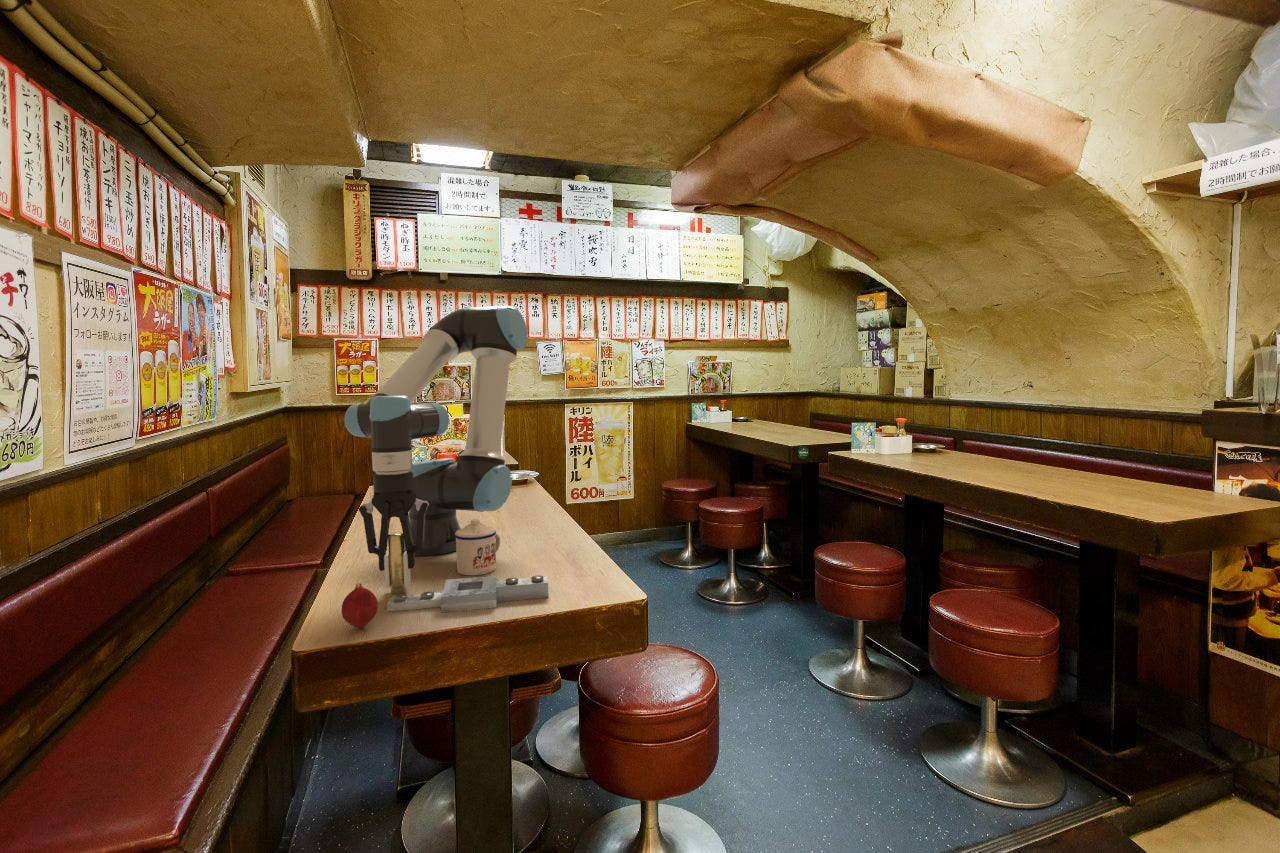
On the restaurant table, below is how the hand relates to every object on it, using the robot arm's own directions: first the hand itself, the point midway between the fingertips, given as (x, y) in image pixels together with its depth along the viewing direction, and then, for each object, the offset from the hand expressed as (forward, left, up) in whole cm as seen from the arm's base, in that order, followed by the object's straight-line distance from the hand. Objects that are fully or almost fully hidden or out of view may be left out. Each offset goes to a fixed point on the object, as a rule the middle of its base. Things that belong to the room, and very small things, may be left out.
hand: (398, 584), depth 122 cm
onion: (+18, -3, -2) cm, 18 cm away
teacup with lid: (-12, +16, -2) cm, 20 cm away
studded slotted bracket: (+9, +15, -2) cm, 18 cm away
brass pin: (0, 0, -2) cm, 2 cm away
